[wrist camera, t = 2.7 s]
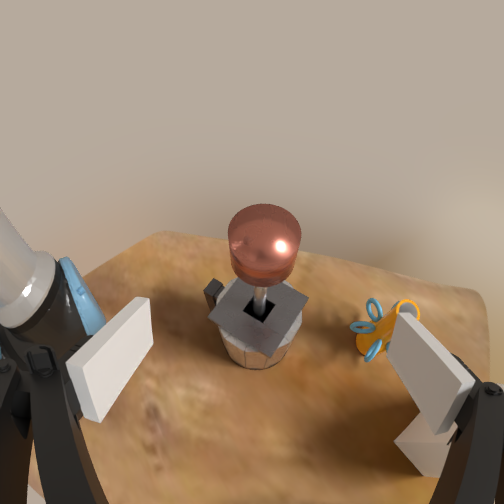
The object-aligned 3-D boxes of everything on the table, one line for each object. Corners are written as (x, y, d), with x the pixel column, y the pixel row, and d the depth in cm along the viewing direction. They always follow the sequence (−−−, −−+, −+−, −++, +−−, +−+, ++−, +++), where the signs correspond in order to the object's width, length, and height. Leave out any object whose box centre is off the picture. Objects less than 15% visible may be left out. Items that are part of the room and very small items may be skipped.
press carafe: (198, 337, 48) (179, 306, 36) (235, 289, 53) (230, 244, 41) (266, 382, 44) (273, 368, 32) (300, 329, 49) (319, 295, 37)
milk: (434, 395, 41) (535, 360, 19) (461, 430, 36) (561, 411, 14) (393, 441, 37) (496, 441, 15) (423, 476, 32) (524, 486, 10)
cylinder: (332, 323, 50) (359, 287, 37) (377, 303, 52) (413, 265, 39) (358, 383, 44) (398, 368, 31) (404, 358, 46) (449, 334, 33)
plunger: (230, 327, 40) (213, 239, 22) (252, 297, 43) (254, 194, 24) (263, 348, 39) (277, 276, 20) (284, 317, 41) (313, 223, 23)
